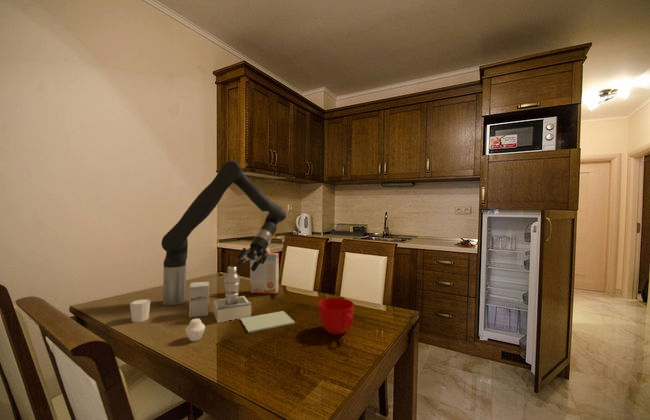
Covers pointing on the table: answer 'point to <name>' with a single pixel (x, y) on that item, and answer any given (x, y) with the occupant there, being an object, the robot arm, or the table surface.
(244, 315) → the sleeve
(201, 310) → the supplement box
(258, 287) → the cracker box
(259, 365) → the table surface
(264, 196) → the robot arm
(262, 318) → the mat
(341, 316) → the ceramic cup
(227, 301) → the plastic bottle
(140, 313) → the shot glass
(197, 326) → the muffin
